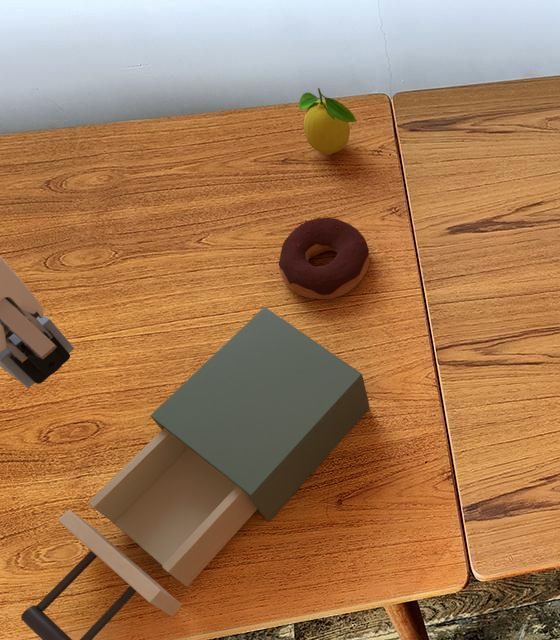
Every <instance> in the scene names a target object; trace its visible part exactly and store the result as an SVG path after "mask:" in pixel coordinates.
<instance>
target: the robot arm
mask: <svg viewBox="0 0 560 640" xmlns="http://www.w3.org/2000/svg"><path fill="white" fill-rule="evenodd" d="M43 314H44V308H43V305H42V304H41V303H40V301H39V300H38V299H37V297H36V296H35V294H34V293H33V292H32V291H31V289H30V288H29V287H28V286H27V285H26V284H25V282H24V281H23V280H22V279H21V278H20V276H19V275H18V274H17V273H16V271H15V270H14V269H13V268H12V267H11V265H9V264H8V262H7V261H6V260H5V259H4V258H3V256H2V255H0V352H2V351H3V350H4V349H7V350H8V351H9V352H10V353H11V354H12V355H11V356H10V358H11V359H12V360H13V361H14V362H15V363H16V364H17V365H18V366H19V367H20V368H21V369H22V370H23V371H24V372H25V373H26V374H27V375H28V376H29V377H30V378H31V379H32V380H33V381H34V382H35V383H34V384H37V385H40V384H43V383H44V382H45V381H46V380H47V379H48V378H50V377H51V376H52V375H53V374H55V373H56V372H57V371H59V370H60V368H62V366H63V365H65V363H67V362H68V361H69V360H70V358H71V354H70V353H68V352H67V350H66V349H65V348H64V347H63V346H62V345H61V343H60V342H59V341H58V340H57V339H56V338H55V336H54V335H53V334H52V333H51V332H50V331H49V330H48V329H47V328H44V327H43V325H42V324H41V323H40V322H39V321H38V320H37V318H38V317H39V318H42V317H43ZM13 334H15V335H16V336H17V337H18V338H19V339H20V340H21V341H20V342H19V343H18V344H17V345H15V344H14V343H13V342H12V341H11V340H10V339H9V337H10V336H11V335H13Z"/></svg>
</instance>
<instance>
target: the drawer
mask: <svg viewBox="0 0 560 640" xmlns="http://www.w3.org/2000/svg"><path fill="white" fill-rule="evenodd" d="M87 504H88V505H90V506H91V507H92V508H93V509H94V510H96V511H97V512H99V514H101V515H103V517H105V519H107V520H108V521H110V522H111V523H112V524H114V525H115V526H116V527H117V528H118V529H120V531H121V532H123V533H124V534H125V535H127V537H129V538H130V539H131V540H132V541H133V542H135V543H136V544H137V545H138V546H139V547H140V548H141V549H142V550H144V551H145V552H146V553H147V554H148V555H149V556H151V558H153V559H154V560H155V561H156V562H157V563H158V564H160V565H161V568H162V569H163V570H164V571H166V573H168V574H170V576H172V577H173V578H175V579H176V580H177V581H178V582H180V583H181V584H183V585H184V586H185V587H186V588H188V587H189V586H190V585H191V584H192V583H193V581H195V579H197V577H198V576H199V575H200V573H201V572H202V571H203V570H205V568H206V567H207V566H208V565H209V564H210V563H211V562H212V560H213V559H214V558H215V557H216V556H217V555H218V554H219V553H220V552H221V550H223V548H224V547H225V546H226V545H227V544H228V542H230V540H231V539H232V538H233V537H234V536H235V535H236V534H237V533H238V531H239V530H240V529H241V528H242V527H243V526H244V525H245V524H246V522H247V521H248V520H250V518H251V517H252V516H253V515H254V514H255V513H256V510H257V507H256V506H255V505H254V503H253V502H252V500H251V499H250V498H249V496H248V495H247V493H245V492H244V491H243V490H242V489H240V488H239V487H238V486H237V485H235V484H234V483H233V482H231V481H230V480H229V479H228V478H226V477H225V476H224V475H223V474H221V473H220V472H219V471H218V470H216V469H215V468H214V467H213V466H211V465H210V464H209V463H208V462H206V461H205V460H204V459H202V458H201V457H200V456H199V455H197V454H196V453H195V452H194V451H192V450H191V449H190V448H189V447H187V446H186V445H185V444H184V443H182V442H181V441H180V440H179V439H177V438H176V437H175V436H173V435H172V434H171V433H170V432H168V431H167V430H166V429H165V428H164V429H163V430H160V431H159V432H158V433H157V434H156V436H154V437H153V438H152V439H151V440H150V441H149V442H148V443H147V444H145V446H144V447H142V449H141V450H140V451H139V452H137V454H136V455H134V457H133V458H131V459H130V461H129V462H127V463H126V464H125V466H124V467H123V468H121V469H120V470H119V471H118V472H117V473H116V474H115V475H114V476H113V477H112V478H111V479H110V480H109V481H108V482H107V483H106V484H105V485H103V487H102V488H101V489H100V490H99V491H98V492H96V493H95V495H94V496H92V498H90V499H89V500H88V501H87ZM57 522H59V524H61V525H62V526H63V527H64V528H65V529H66V530H68V531H69V532H70V533H71V534H72V535H73V536H74V537H75V538H77V539H78V541H80V542H81V543H82V544H83V545H84V546H85V547H86V548H88V550H90V551H89V552H88V553H87V554H86V555H84V557H83V558H82V559H81V560H80V561H79V562H78V563H77V564H76V565H75V566H74V567H73V568H72V569H70V571H69V572H68V573H67V574H66V575H65V576H64V577H63V578H62V579H61V580H60V581H59V582H58V583H57V584H56V586H54V587H53V588H52V590H50V591H49V592H48V593H47V594H46V595H45V596H44V597H43V598H42V600H41V601H40V602H38V603H37V605H35V604H34V605H31V606H29V607H28V608H26V609H25V610H24V611H23V612H22V614H21V617H20V619H21V621H22V622H23V623H24V624H25V625H27V627H28V628H30V629H31V631H32V632H33V633H34V634H36V635H37V636H38V637H39V638H40V639H41V640H73V639H72V638H71V637H70V636H69V635H68V634H67V633H66V632H65V631H64V630H63V629H62V628H61V627H59V625H58V624H57V623H55V622H54V620H52V619H51V617H49V616H48V614H46V613H45V611H46V610H47V609H48V607H50V606H51V605H52V604H53V603H54V602H55V601H56V600H57V598H59V596H60V595H61V594H62V593H63V592H64V591H66V589H67V588H68V587H69V586H70V585H71V584H72V583H74V582H75V580H76V579H77V578H78V577H79V576H81V574H82V573H83V572H84V571H85V570H86V569H87V568H88V567H89V566H90V565H91V564H92V563H93V562H94V561H95V560H96V559H97V558H99V559H100V560H101V561H102V562H103V563H104V564H105V565H106V566H108V568H109V569H111V570H112V571H113V572H114V573H115V574H116V575H118V576H119V577H120V578H121V579H122V580H123V581H124V582H125V583H127V584H128V585H129V587H128V588H127V589H126V590H125V591H124V592H123V593H122V594H121V595H120V596H119V598H117V599H116V601H115V602H113V603H112V605H111V606H110V607H109V608H108V609H107V610H106V611H105V612H104V613H103V614H102V615H101V617H99V618H98V620H96V622H94V624H93V625H92V626H91V627H90V628H89V629H88V630H87V631H86V632H85V633H84V634H83V635H82V636H81V638H79V640H94V638H96V636H97V635H98V634H99V633H100V632H101V631H102V630H104V628H105V627H106V626H107V625H108V624H109V622H110V621H111V620H112V619H113V618H114V617H115V616H116V615H117V614H118V613H119V612H120V611H121V609H122V608H123V607H124V606H125V605H126V604H127V603H128V602H129V601H130V600H131V599H132V598H133V596H134V595H136V594H137V593H138V595H140V596H141V598H143V599H144V600H146V602H148V603H149V604H151V605H152V606H154V607H155V608H157V609H159V610H160V611H162V612H163V613H165V614H167V615H168V616H170V617H173V616H175V614H176V613H177V612H178V611H179V610H180V609H181V608H182V606H183V604H182V603H181V602H180V601H178V599H176V598H175V597H174V596H173V595H172V594H171V593H170V592H168V591H167V590H166V589H165V588H164V587H163V586H161V584H159V583H158V582H157V581H156V580H155V579H154V578H153V577H152V576H150V575H149V573H147V572H146V571H145V570H143V569H142V568H141V567H140V566H139V565H138V564H137V563H136V562H134V561H133V560H132V559H131V558H130V557H129V556H128V555H126V553H124V551H123V550H121V549H120V548H118V547H117V546H116V545H115V544H114V543H113V542H112V541H110V540H109V538H107V537H106V536H105V535H104V534H102V533H101V531H99V530H98V529H97V528H95V527H94V526H93V525H92V524H90V523H89V522H88V521H86V520H84V519H83V518H82V517H80V516H79V515H78V514H76V513H75V512H74V511H72V510H70V509H68V510H66V511H65V512H64V513H63V514H62V515H61V516H60V517H59V518H58V519H57Z"/></svg>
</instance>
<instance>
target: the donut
mask: <svg viewBox="0 0 560 640" xmlns="http://www.w3.org/2000/svg"><path fill="white" fill-rule="evenodd" d="M329 251H330V252H335V253H336V255H335V257H334V258H333V259H332V260H331V261H330V262H328V263H326V264H325V265H319V266H317V265H316V266H315V265H313V264H311V263H310V261H309V260H310V259H312V258H313V257H315V256H317V255H320V254H322V253H325V252H329ZM369 265H370V249H369V245H368V242H367V241H366V239H365V237H364V235H362V233H361V232H360V231H359V229H357V228H356V227H355V226H353V225H352V224H350V223H348V222H346V221H343V220H341V219H338V218H334V217H329V216H328V217H319V218H314V219H309V220H306V221H304V222H303V223H302V224H300V225H298V226H297V227H296V228H295V229H293V230H292V231H291V232H290V234H289V235H288V236H287V237H286V239H285V240H284V242H283V243H282V244H281V250H280V256H279V260H278V267H279V272H280V276H281V279H282V281H283V282H284V284H285V285H286V286H287V287H288V289H290V290H291V291H293V292H294V293H295V294H298V295H299V296H300V297H301V296H302V297H305V298H308V299H315V300H327V299H336V298H338V297H339V298H340V297H343V296H344V295H346V294H347V293H349V292H350V291H352V290H353V289H354V288H355V287H356V286H357V285H358V284H359V283H360V282H361V281H362V280H363V279H364V276H365V275H366V274H367V272H368V269H369Z"/></svg>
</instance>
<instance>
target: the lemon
mask: <svg viewBox="0 0 560 640" xmlns="http://www.w3.org/2000/svg"><path fill="white" fill-rule="evenodd" d="M317 92H318V95H319V97H317V96H316V95H315V94H313V93H311V92H305V93H302V95H301V97H300V99H299V102H298V106H297V107H298V109H299V110H300V111H305V110H306V111H305V115H304V118H303V132H304V136H305V139H306V141H307V142H308V144H309V145H310V146H311V148H313V149H314V150H315V151H316V152H319V153H322V154H324V155H333V154H336V153H339V152H340V151H342V150H343V149H344V148H345V147H346V145H347V144H348V142H349V140H350V139H349V138H350V134H351V128H350V124H349V123H357V122H358V120H357V119H356V117H355V115H354V114H353V112H352V111H351V110H350V109H349V108H348V107H347V106H345V105H344V104H343V103H342V102H339V101H338V100H336V99H334V98H331V97H328V96H327V97H326V96H325V95H323V93H322V92H321V88H319V87H317ZM323 98H324V99H323Z"/></svg>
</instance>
